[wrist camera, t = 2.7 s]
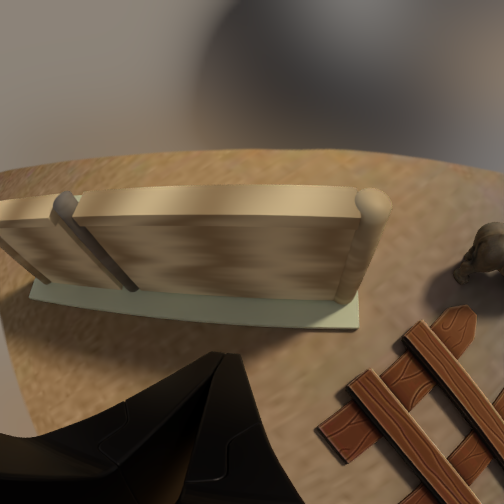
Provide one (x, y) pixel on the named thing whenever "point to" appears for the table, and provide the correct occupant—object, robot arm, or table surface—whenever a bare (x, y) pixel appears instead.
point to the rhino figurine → (484, 252)
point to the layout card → (204, 306)
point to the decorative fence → (408, 396)
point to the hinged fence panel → (240, 238)
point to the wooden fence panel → (57, 243)
